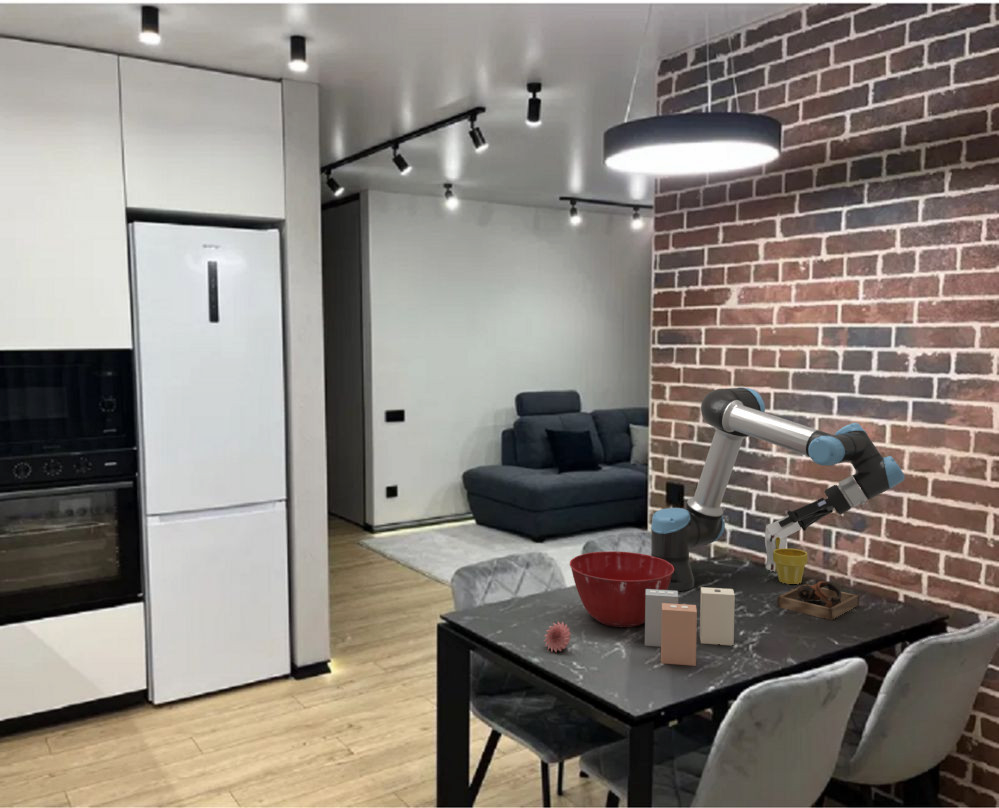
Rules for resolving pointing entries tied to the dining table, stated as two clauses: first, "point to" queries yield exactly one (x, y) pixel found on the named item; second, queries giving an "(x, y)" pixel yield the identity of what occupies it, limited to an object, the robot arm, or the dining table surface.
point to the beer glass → (773, 548)
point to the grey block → (656, 613)
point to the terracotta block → (678, 634)
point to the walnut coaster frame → (791, 603)
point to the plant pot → (790, 564)
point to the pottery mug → (820, 593)
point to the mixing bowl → (618, 584)
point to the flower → (557, 637)
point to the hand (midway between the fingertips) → (773, 533)
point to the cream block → (717, 616)
